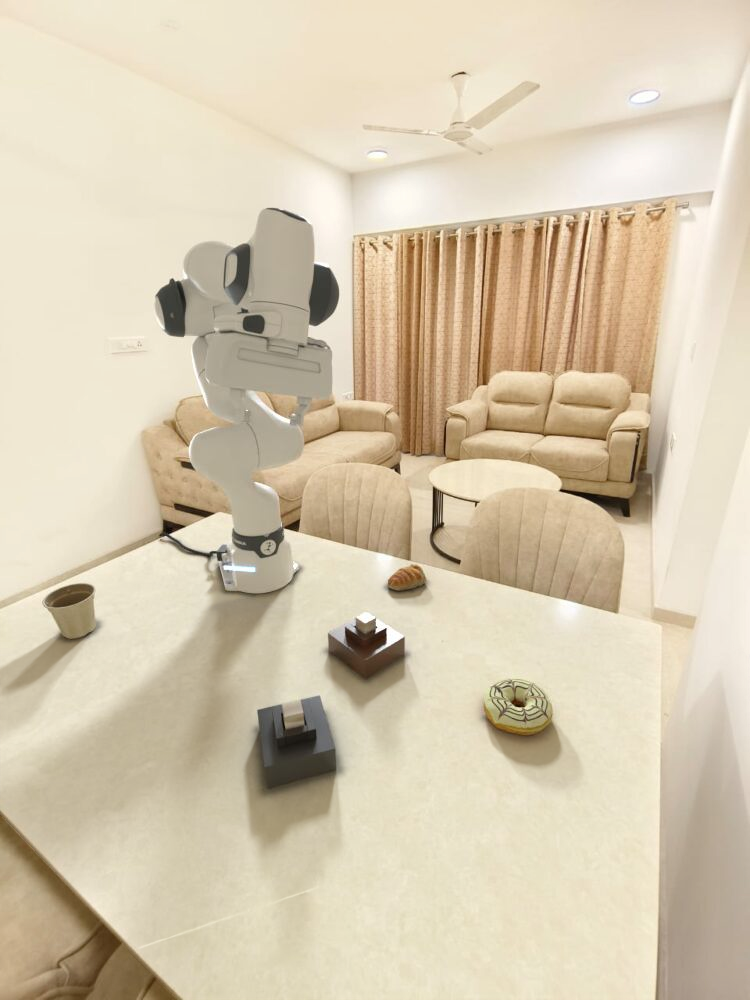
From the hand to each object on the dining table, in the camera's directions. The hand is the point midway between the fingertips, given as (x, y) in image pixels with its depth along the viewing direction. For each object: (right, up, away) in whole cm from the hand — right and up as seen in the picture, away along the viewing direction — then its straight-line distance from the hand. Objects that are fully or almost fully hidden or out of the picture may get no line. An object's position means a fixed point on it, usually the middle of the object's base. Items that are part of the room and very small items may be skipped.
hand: (270, 424), depth 76 cm
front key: (+4, -44, -2) cm, 45 cm away
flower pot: (-46, -39, +29) cm, 67 cm away
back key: (+14, -36, +19) cm, 43 cm away
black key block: (+4, -50, 0) cm, 50 cm away
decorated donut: (+39, -47, +6) cm, 61 cm away
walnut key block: (+14, -41, +21) cm, 48 cm away
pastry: (+24, -32, +45) cm, 60 cm away
